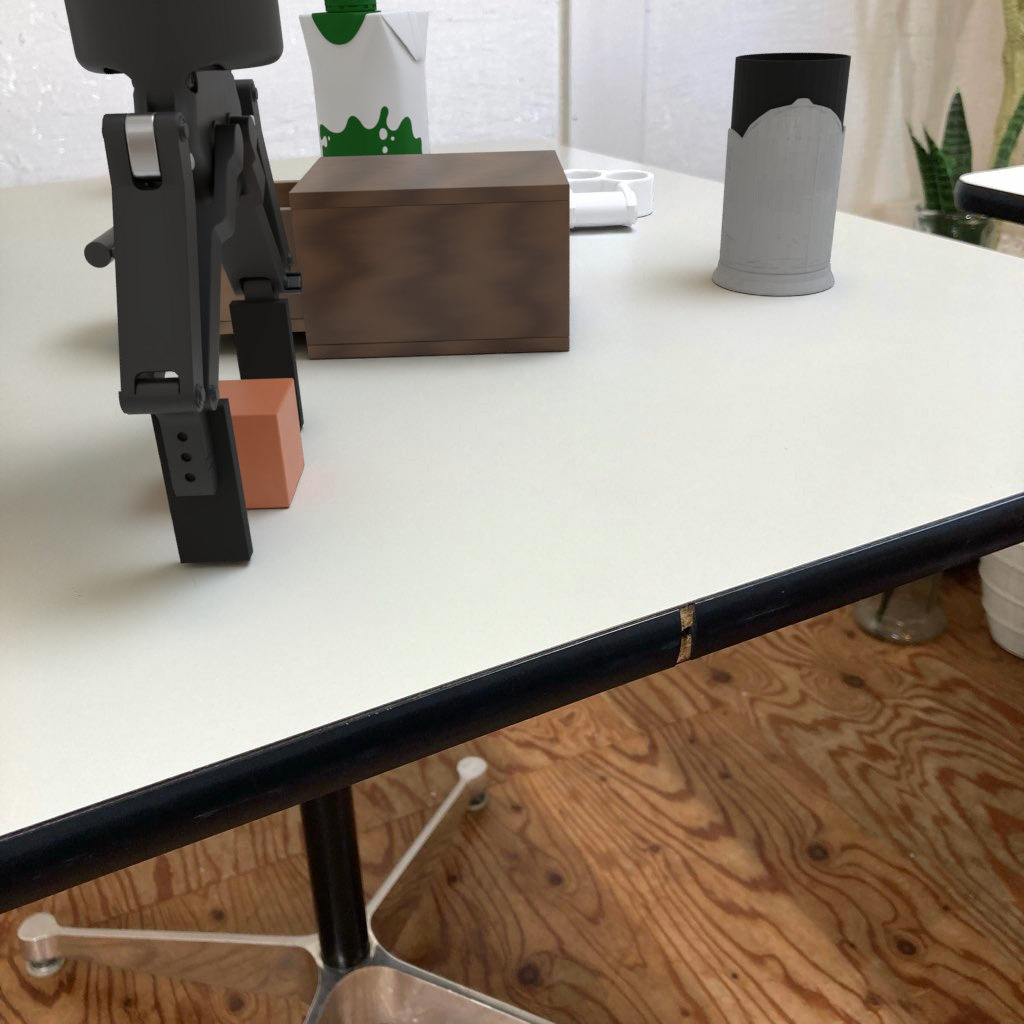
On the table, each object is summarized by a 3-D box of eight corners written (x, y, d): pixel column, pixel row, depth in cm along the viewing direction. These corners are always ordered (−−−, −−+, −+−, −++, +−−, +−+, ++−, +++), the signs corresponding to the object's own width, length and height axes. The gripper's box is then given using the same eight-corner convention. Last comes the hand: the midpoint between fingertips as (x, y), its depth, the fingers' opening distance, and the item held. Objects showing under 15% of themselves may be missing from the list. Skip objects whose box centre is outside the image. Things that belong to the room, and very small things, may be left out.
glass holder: (722, 297, 72) (739, 63, 66) (693, 249, 85) (704, 48, 78) (849, 294, 72) (878, 59, 65) (800, 246, 85) (821, 45, 78)
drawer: (85, 348, 63) (56, 215, 59) (141, 295, 73) (119, 179, 69) (397, 338, 63) (387, 205, 59) (409, 287, 73) (400, 170, 70)
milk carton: (313, 245, 90) (283, -15, 80) (368, 223, 97) (347, -18, 88) (401, 253, 86) (381, -18, 77) (452, 230, 94) (439, -20, 84)
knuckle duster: (468, 239, 90) (461, 206, 103) (673, 230, 91) (640, 198, 104) (467, 199, 88) (459, 170, 101) (675, 191, 90) (641, 163, 103)
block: (188, 511, 45) (170, 417, 43) (211, 468, 49) (196, 380, 47) (289, 507, 45) (276, 413, 43) (305, 465, 49) (293, 377, 47)
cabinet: (308, 359, 63) (288, 192, 58) (334, 300, 74) (319, 156, 70) (569, 351, 63) (569, 184, 59) (556, 293, 74) (555, 149, 70)
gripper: (182, -68, 26) (289, 634, 36) (318, -47, 48) (361, 385, 58) (-116, -59, 26) (71, 642, 36) (156, -42, 48) (226, 390, 58)
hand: (250, 484), depth 47 cm, fingers open, 13 cm apart
